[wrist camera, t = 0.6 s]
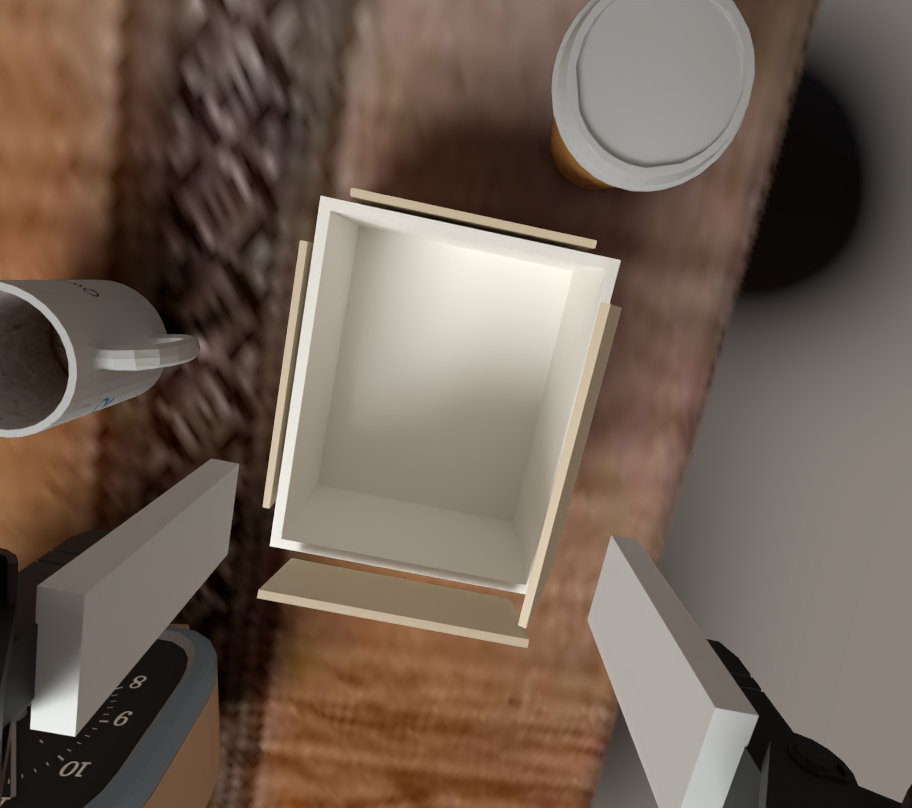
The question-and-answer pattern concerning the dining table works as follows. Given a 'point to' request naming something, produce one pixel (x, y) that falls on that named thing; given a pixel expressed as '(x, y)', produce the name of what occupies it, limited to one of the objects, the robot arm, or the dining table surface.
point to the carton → (429, 387)
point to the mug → (77, 350)
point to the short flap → (395, 601)
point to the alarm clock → (130, 739)
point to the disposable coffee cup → (649, 91)
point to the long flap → (571, 455)
